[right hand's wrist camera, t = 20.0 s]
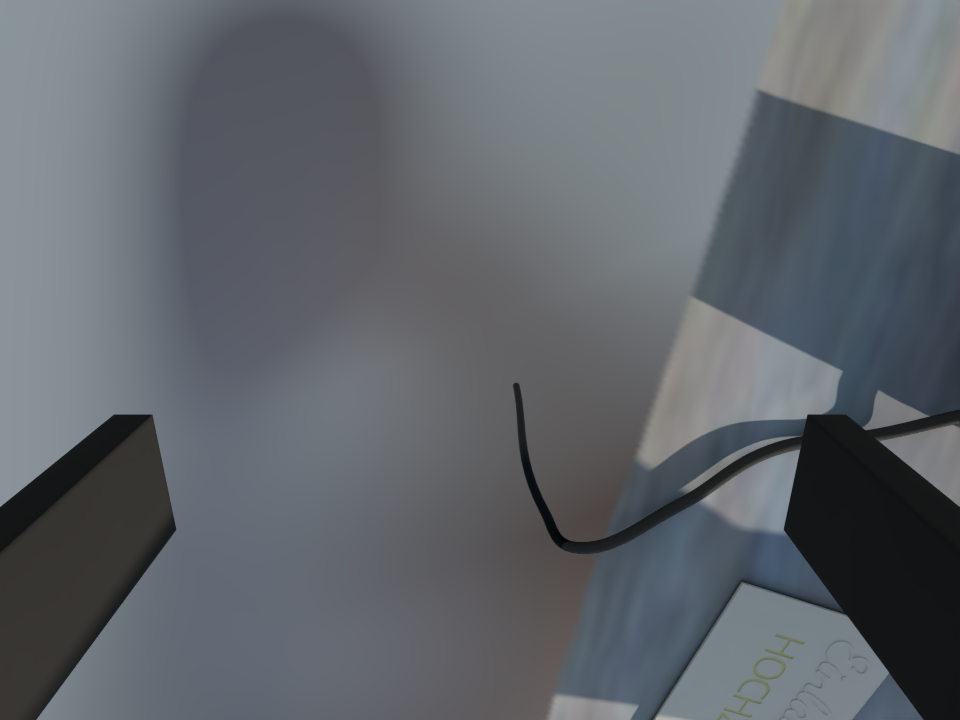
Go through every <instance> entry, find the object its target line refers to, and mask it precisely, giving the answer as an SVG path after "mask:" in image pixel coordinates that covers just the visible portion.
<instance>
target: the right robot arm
mask: <svg viewBox="0 0 960 720" xmlns="http://www.w3.org/2000/svg"><path fill="white" fill-rule="evenodd" d="M513 389H514V395H515V403H516V414H517V429H518V441H519V450H520V456H521V462H522V466H523V471H524V474H525V478H526V481H527V484H528V487H529V489H530V492H531V494H532V497H533V499H534V502H535V504H536V506H537V508H538V510H539V512H540V514H541V516H542V518H543V520H544V523H545V526H546V528H547V531H548V533H549V535H550V537H551V539H552V540H553V541H554V543H555V544H556V545H557V546H558V547H560V548H561V549H563V550H565V551H568V552H572V553H578V554H591V553H599V552H603V551H607V550H610V549H613V548H616V547H618V546H620V545H622V544H625V543H627V542H629V541H630V540H632V539H634V538H636V537H638V536H639V535H641V534H643V533H644V532H646V531H648V530H649V529H651V528H653V527H654V526H656V525H658V524H659V523H661V522H663V521H664V520H666V519H668V518H669V517H671V516H673V515H675V514H677V513H679V512H680V511H682V510H684V509H686V508H688V507H690V506H692V505H693V504H695V503H697V502H698V501H700V500H702V499H703V498H705V497H706V496H708V495H709V494H711V493H712V492H714V491H715V490H716V489H718V488H719V487H721V486H722V485H723V484H725V483H726V482H728V481H729V480H730V479H732V478H733V477H735V476H736V475H738V474H739V473H741V472H742V471H744V470H746V469H748V468H749V467H751V466H753V465H755V464H757V463H759V462H761V461H763V460H766V459H768V458H771V457H773V456H776V455H779V454H782V453H786V452H790V451H794V450H799V449H800V454H799V459H798V464H797V468H796V473H795V478H794V483H793V488H792V492H791V497H790V502H789V507H788V512H787V517H786V521H785V526H784V531H785V532H786V533H787V535H788V536H789V538H790V539H791V540H792V542H793V543H794V544H795V546H796V547H797V548H798V550H799V551H800V552H801V554H802V555H803V557H804V558H805V559H806V561H807V562H808V563H809V565H810V566H811V567H812V569H813V570H814V571H815V573H816V574H817V576H818V577H819V578H820V580H821V581H822V582H823V584H824V585H825V586H826V588H827V589H828V590H829V592H830V593H831V595H832V596H833V597H834V599H835V600H836V601H837V603H838V604H839V605H840V607H841V608H842V609H843V611H844V612H845V614H846V615H847V616H848V618H849V619H850V620H851V622H852V623H853V624H854V626H855V627H856V628H857V630H858V631H859V633H860V634H861V635H862V637H863V638H864V639H865V641H866V642H867V643H868V645H869V646H870V647H871V649H872V650H873V652H874V653H875V654H876V656H877V657H878V658H879V660H880V661H881V662H882V664H883V665H884V666H885V668H886V669H887V671H888V672H889V673H890V675H891V676H892V677H893V679H894V680H895V681H896V683H897V684H898V685H899V687H900V688H901V690H902V691H903V692H904V694H905V695H906V696H907V698H908V699H909V700H910V702H911V703H912V704H913V706H914V707H915V709H916V710H917V711H918V713H919V714H920V715H921V717H922V718H923V719H924V720H960V507H959V506H958V505H957V504H955V503H954V502H953V501H952V500H950V499H949V498H948V497H947V496H945V495H944V494H943V493H942V492H941V491H939V490H938V489H937V488H936V487H934V486H933V485H932V484H931V483H929V482H928V481H927V480H926V479H925V478H923V477H922V476H921V475H920V474H918V473H917V472H916V471H915V470H913V469H912V468H911V467H910V466H909V465H907V464H906V463H905V462H904V461H902V460H901V459H900V458H899V457H897V456H896V455H895V454H894V453H892V452H891V451H890V450H889V449H888V448H886V447H885V446H884V445H883V444H881V443H880V442H879V441H881V440H887V439H892V438H897V437H901V436H906V435H910V434H914V433H919V432H923V431H927V430H931V429H936V428H940V427H944V426H949V425H953V424H958V423H960V410H956V411H951V412H947V413H943V414H939V415H935V416H930V417H926V418H922V419H918V420H914V421H910V422H906V423H901V424H897V425H892V426H888V427H883V428H878V429H872V430H864V429H863V428H862V427H860V426H859V425H858V424H857V423H856V422H854V421H853V420H852V419H851V418H849V417H848V416H847V415H807V420H806V425H805V430H804V435H803V436H801V437H796V438H791V439H786V440H783V441H779V442H776V443H773V444H770V445H767V446H764V447H762V448H759V449H757V450H755V451H753V452H751V453H749V454H747V455H745V456H743V457H741V458H740V459H738V460H736V461H735V462H733V463H732V464H730V465H728V466H727V467H726V468H724V469H723V470H721V471H720V472H718V473H717V474H716V475H714V476H713V477H712V478H710V479H709V480H707V481H706V482H705V483H703V484H702V485H700V486H699V487H697V488H696V489H694V490H693V491H691V492H689V493H688V494H686V495H684V496H682V497H681V498H679V499H677V500H675V501H673V502H671V503H669V504H667V505H666V506H664V507H662V508H660V509H659V510H657V511H655V512H654V513H652V514H650V515H649V516H647V517H646V518H644V519H642V520H641V521H639V522H637V523H636V524H634V525H632V526H630V527H629V528H627V529H625V530H623V531H621V532H619V533H617V534H615V535H613V536H610V537H607V538H604V539H601V540H597V541H591V542H573V541H570V540H568V539H566V538H564V537H563V536H562V535H561V533H560V532H559V530H558V528H557V526H556V524H555V521H554V519H553V516H552V514H551V512H550V510H549V509H548V507H547V505H546V503H545V501H544V499H543V497H542V494H541V492H540V490H539V487H538V485H537V482H536V479H535V476H534V473H533V470H532V466H531V462H530V458H529V453H528V447H527V440H526V431H525V420H524V409H523V401H522V395H521V390H520V385H519V383H514V384H513ZM175 531H176V526H175V521H174V517H173V512H172V507H171V502H170V497H169V493H168V488H167V483H166V478H165V473H164V468H163V464H162V459H161V454H160V449H159V444H158V440H157V435H156V430H155V425H154V420H153V415H113V416H112V417H111V418H109V419H108V420H107V421H106V422H104V423H103V424H102V425H101V426H100V427H98V428H97V429H96V430H95V431H93V432H92V433H91V434H90V435H88V436H87V437H86V438H85V439H84V440H82V441H81V442H80V443H79V444H77V445H76V446H75V447H74V448H72V449H71V450H70V451H69V452H68V453H66V454H65V455H64V456H63V457H61V458H60V459H59V460H58V461H56V462H55V463H54V464H53V465H52V466H50V467H49V468H48V469H47V470H45V471H44V472H43V473H42V474H40V475H39V476H38V477H37V478H35V479H34V480H33V481H32V482H31V483H29V484H28V485H27V486H26V487H24V488H23V489H22V490H21V491H20V492H18V493H17V494H16V495H15V496H13V497H12V498H11V499H10V500H8V501H7V502H6V503H5V504H3V505H2V506H1V507H0V720H36V719H37V718H38V717H39V715H40V714H41V713H42V711H43V710H44V709H45V707H46V706H47V704H48V703H49V702H50V700H51V699H52V698H53V696H54V695H55V694H56V692H57V691H58V690H59V688H60V687H61V685H62V684H63V683H64V681H65V680H66V679H67V677H68V676H69V675H70V673H71V672H72V671H73V669H74V668H75V666H76V665H77V664H78V662H79V661H80V660H81V658H82V657H83V656H84V654H85V653H86V652H87V650H88V649H89V647H90V646H91V645H92V643H93V642H94V641H95V639H96V638H97V637H98V635H99V634H100V632H101V631H102V630H103V628H104V627H105V626H106V624H107V623H108V622H109V620H110V619H111V618H112V616H113V615H114V614H115V612H116V611H117V609H118V608H119V607H120V605H121V604H122V603H123V601H124V600H125V599H126V597H127V596H128V594H129V593H130V592H131V590H132V589H133V588H134V586H135V585H136V584H137V582H138V581H139V580H140V578H141V577H142V575H143V574H144V573H145V571H146V570H147V569H148V567H149V566H150V565H151V563H152V562H153V561H154V559H155V558H156V557H157V555H158V554H159V552H160V551H161V550H162V548H163V547H164V546H165V544H166V543H167V542H168V540H169V539H170V538H171V536H172V535H173V533H174V532H175Z"/></svg>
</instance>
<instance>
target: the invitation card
mask: <svg viewBox="0 0 960 720" xmlns="http://www.w3.org/2000/svg"><path fill="white" fill-rule="evenodd" d="M888 674H889V672H888V671H887V669H886V668H885V666H884V665H883V664H882V662H881V661H880V660H879V658H878V657H877V656H876V654H875V653H874V652H873V650H872V649H871V647H870V646H869V645H868V643H867V642H866V641H865V639H864V638H863V637H862V635H861V634H860V633H859V631H858V630H857V628H856V627H855V626H854V624H853V623H852V622H851V620H850V619H849V618H848V616H847V615H846V614H842V613H839V612H836V611H833V610H830V609H827V608H823V607H820V606H817V605H814V604H811V603H808V602H804V601H801V600H798V599H795V598H792V597H789V596H785V595H782V594H779V593H776V592H773V591H770V590H766V589H763V588H760V587H757V586H754V585H751V584H747V583H744V582H741V584H740V585H739V587H738V588H737V590H736V592H735V593H734V595H733V596H732V598H731V599H730V601H729V602H728V604H727V606H726V607H725V609H724V610H723V612H722V613H721V615H720V616H719V618H718V620H717V621H716V623H715V624H714V626H713V627H712V629H711V630H710V632H709V633H708V635H707V637H706V638H705V640H704V641H703V643H702V644H701V646H700V647H699V649H698V651H697V652H696V654H695V655H694V657H693V658H692V660H691V661H690V663H689V665H688V666H687V668H686V669H685V671H684V672H683V674H682V675H681V677H680V678H679V680H678V682H677V683H676V685H675V686H674V688H673V689H672V691H671V692H670V694H669V696H668V697H667V699H666V700H665V702H664V703H663V705H662V706H661V708H660V710H659V711H658V713H657V714H656V716H655V717H654V719H653V720H852V719H853V718H854V717H855V715H856V714H857V713H858V712H859V710H860V709H861V708H862V707H863V705H864V704H865V703H866V702H867V700H868V699H869V698H870V697H871V695H872V694H873V693H874V692H875V690H876V689H877V688H878V687H879V685H880V684H881V683H882V682H883V680H884V679H885V678H886V677H887V675H888Z"/></svg>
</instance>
